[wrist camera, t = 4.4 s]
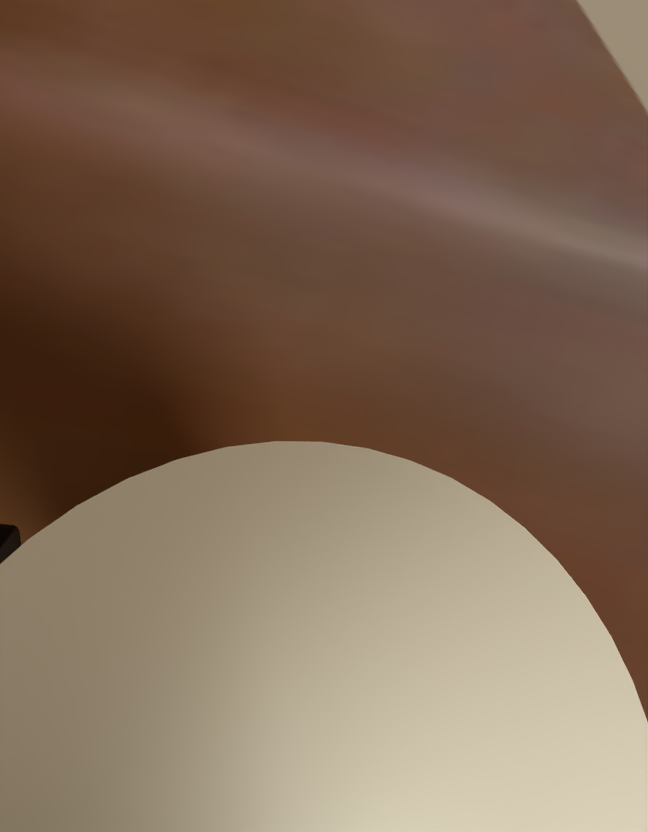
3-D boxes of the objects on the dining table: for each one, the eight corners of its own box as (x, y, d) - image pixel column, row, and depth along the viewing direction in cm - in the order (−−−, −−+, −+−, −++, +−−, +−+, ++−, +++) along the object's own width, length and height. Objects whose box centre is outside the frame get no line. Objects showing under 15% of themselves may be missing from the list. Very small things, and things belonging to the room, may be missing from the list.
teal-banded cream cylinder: (188, 731, 15) (33, 1887, 2) (113, 564, 15) (-364, 698, 3) (344, 635, 16) (807, 986, 3) (270, 486, 16) (444, 330, 4)
